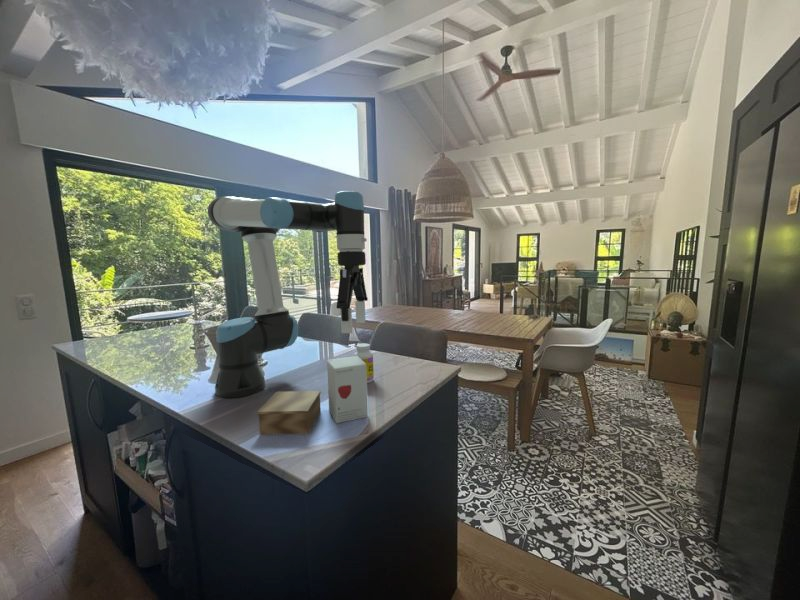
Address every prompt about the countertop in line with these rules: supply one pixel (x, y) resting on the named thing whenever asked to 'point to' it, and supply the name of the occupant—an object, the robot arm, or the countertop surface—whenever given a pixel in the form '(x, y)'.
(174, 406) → the countertop surface
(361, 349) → the supplement bottle
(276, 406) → the walnut box
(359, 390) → the supplement box
